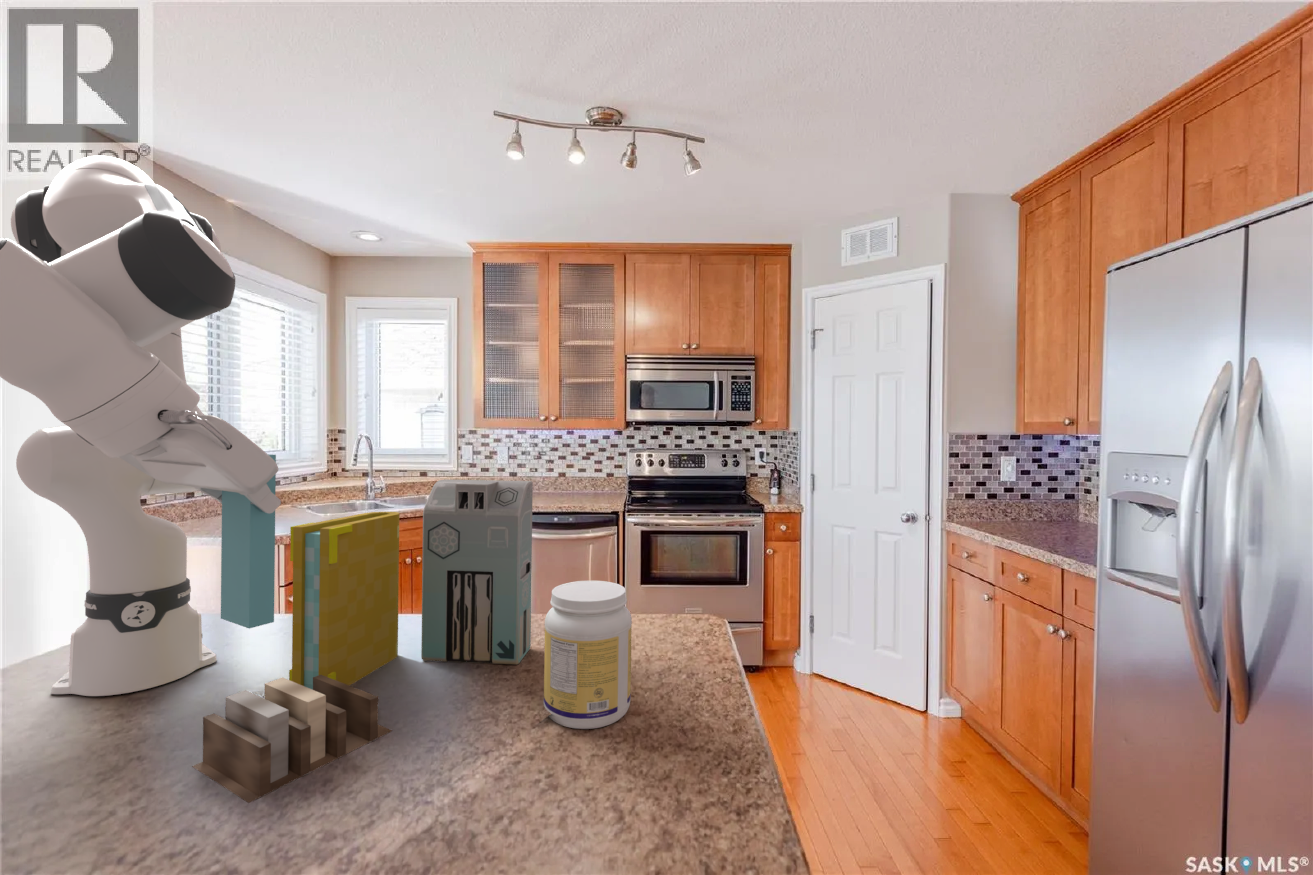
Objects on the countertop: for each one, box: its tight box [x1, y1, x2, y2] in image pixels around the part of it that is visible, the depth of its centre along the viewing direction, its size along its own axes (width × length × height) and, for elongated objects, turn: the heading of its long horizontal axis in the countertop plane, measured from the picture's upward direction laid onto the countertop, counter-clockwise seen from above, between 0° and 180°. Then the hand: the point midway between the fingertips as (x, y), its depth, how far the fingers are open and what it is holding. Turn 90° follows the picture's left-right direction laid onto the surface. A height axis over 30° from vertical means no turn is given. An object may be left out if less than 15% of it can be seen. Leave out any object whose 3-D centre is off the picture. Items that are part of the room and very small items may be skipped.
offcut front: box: [224, 689, 289, 783], centre depth 62 cm, size 9×2×7 cm, turn 61°
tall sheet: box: [220, 453, 277, 629], centre depth 61 cm, size 6×2×18 cm, turn 60°
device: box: [420, 478, 534, 665], centre depth 98 cm, size 16×8×30 cm, turn 87°
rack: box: [191, 675, 393, 804], centre depth 66 cm, size 12×16×6 cm
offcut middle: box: [263, 676, 326, 764], centre depth 66 cm, size 9×2×7 cm, turn 61°
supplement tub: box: [543, 580, 633, 730], centre depth 79 cm, size 12×12×17 cm
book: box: [288, 511, 400, 690], centre depth 87 cm, size 17×7×25 cm, turn 168°
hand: (254, 505), depth 62 cm, fingers closed on tall sheet, 6 cm apart
